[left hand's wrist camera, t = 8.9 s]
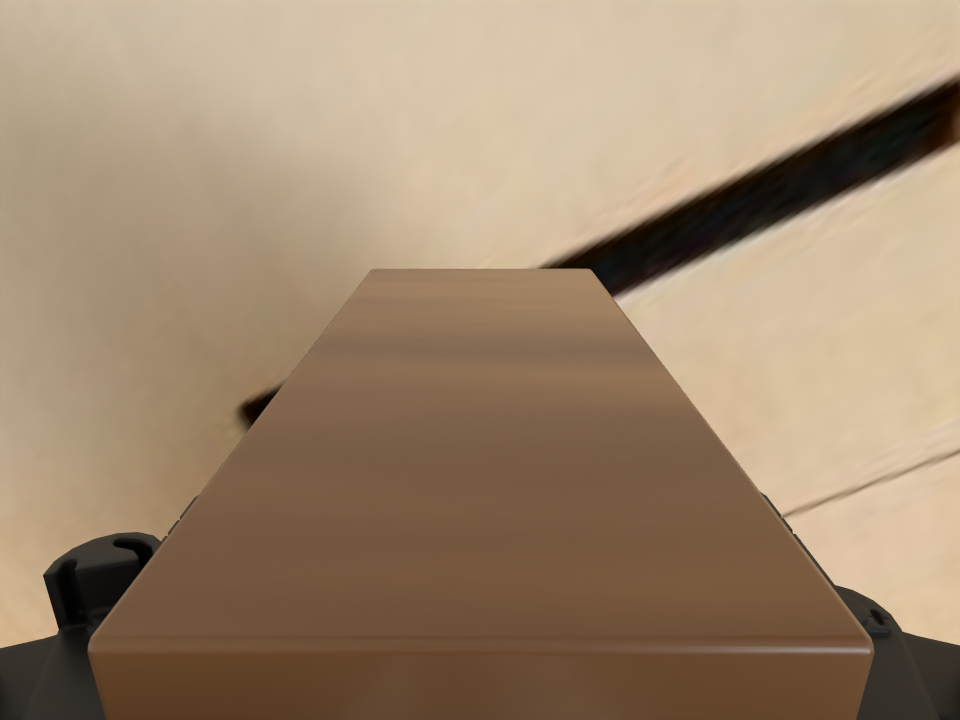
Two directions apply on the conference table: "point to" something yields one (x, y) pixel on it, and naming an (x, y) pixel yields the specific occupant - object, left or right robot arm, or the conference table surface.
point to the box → (480, 536)
